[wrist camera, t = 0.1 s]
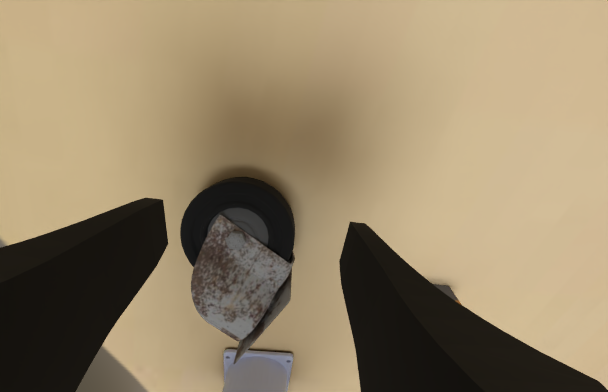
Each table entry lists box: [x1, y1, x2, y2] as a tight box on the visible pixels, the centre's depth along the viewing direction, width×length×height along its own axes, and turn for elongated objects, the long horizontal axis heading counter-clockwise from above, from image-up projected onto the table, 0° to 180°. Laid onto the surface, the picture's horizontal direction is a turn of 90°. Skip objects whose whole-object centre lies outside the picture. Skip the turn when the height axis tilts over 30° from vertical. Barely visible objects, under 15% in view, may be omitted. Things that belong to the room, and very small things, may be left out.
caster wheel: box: [180, 177, 295, 365], centre depth 20 cm, size 7×11×10 cm
